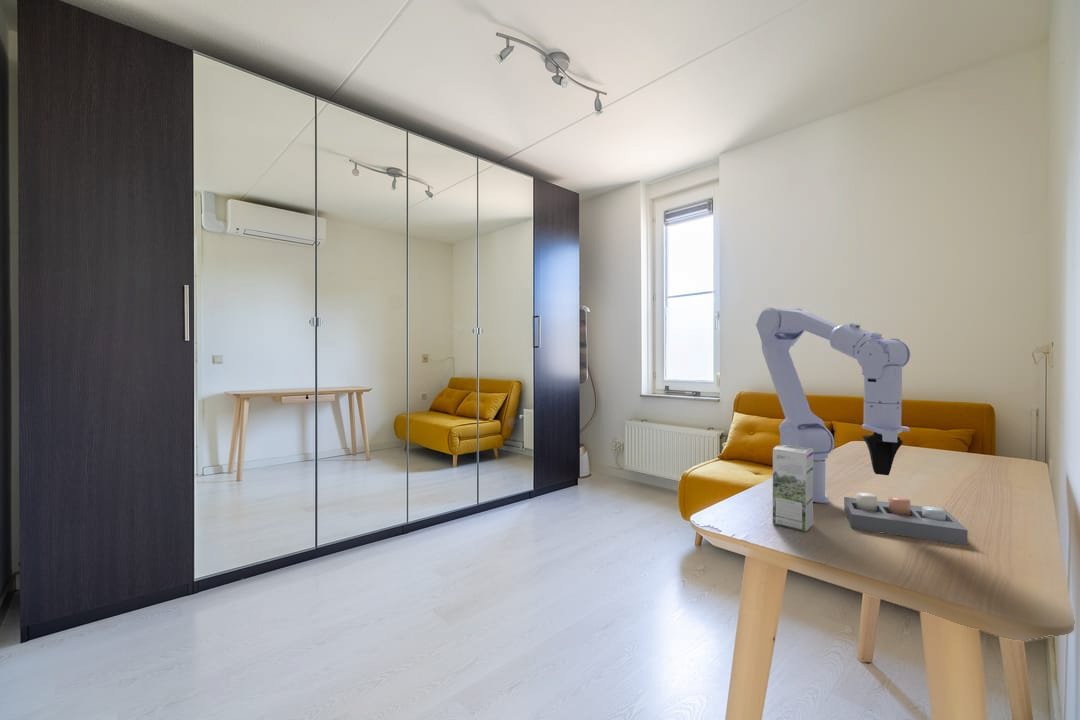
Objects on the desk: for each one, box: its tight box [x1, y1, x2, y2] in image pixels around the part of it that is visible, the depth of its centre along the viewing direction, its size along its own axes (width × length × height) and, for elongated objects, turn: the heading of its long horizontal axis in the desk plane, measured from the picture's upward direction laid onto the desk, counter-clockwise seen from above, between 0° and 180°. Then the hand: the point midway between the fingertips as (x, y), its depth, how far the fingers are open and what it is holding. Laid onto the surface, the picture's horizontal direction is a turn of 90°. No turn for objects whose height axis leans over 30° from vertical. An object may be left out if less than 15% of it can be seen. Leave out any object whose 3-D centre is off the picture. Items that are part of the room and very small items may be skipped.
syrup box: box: [772, 444, 814, 532], centre depth 85 cm, size 6×6×14 cm
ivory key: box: [855, 492, 878, 512], centre depth 87 cm, size 3×3×3 cm
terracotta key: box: [887, 495, 911, 516], centre depth 85 cm, size 3×3×3 cm
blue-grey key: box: [922, 505, 947, 521], centre depth 82 cm, size 3×3×3 cm
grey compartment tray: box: [843, 496, 969, 547], centre depth 85 cm, size 16×12×3 cm
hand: (881, 474), depth 86 cm, fingers closed
